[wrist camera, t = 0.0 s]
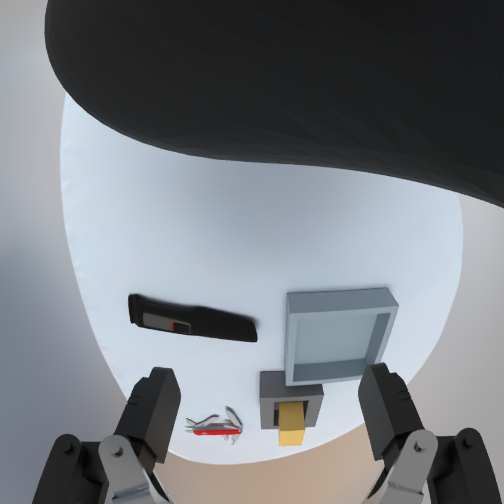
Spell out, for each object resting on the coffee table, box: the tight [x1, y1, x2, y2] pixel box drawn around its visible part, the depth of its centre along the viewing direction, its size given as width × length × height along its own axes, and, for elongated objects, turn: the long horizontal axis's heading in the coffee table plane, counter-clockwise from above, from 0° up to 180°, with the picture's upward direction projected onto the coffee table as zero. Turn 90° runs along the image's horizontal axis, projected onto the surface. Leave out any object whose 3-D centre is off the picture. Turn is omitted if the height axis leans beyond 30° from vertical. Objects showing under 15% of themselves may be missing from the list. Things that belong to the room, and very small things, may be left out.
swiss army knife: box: [185, 410, 243, 445], centre depth 40 cm, size 10×14×2 cm
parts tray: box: [284, 288, 399, 386], centre depth 29 cm, size 12×12×4 cm
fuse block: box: [260, 371, 324, 429], centre depth 34 cm, size 9×8×4 cm
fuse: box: [278, 401, 305, 446], centre depth 31 cm, size 5×3×7 cm, turn 3°
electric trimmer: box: [128, 294, 258, 342], centre depth 29 cm, size 4×16×3 cm, turn 82°
